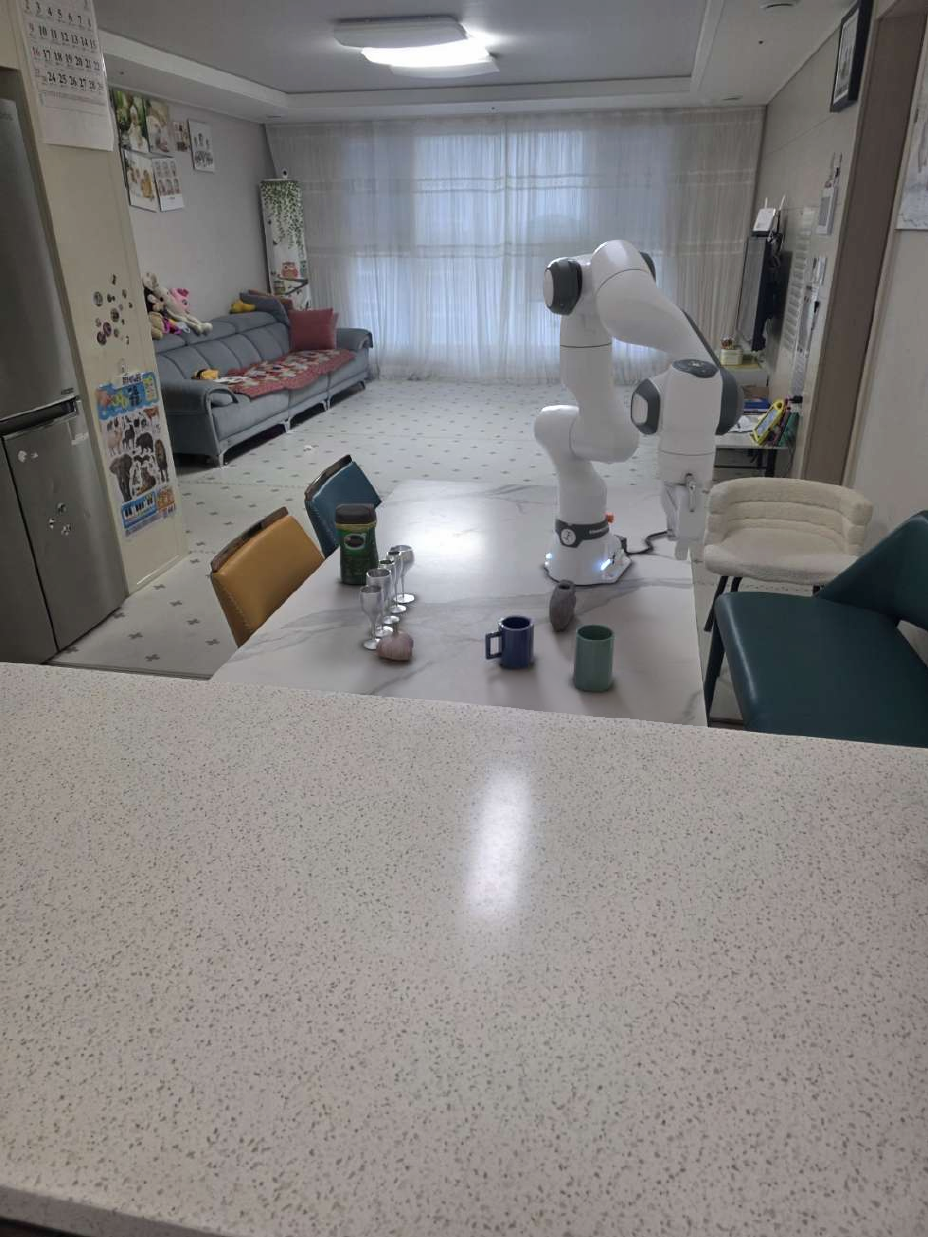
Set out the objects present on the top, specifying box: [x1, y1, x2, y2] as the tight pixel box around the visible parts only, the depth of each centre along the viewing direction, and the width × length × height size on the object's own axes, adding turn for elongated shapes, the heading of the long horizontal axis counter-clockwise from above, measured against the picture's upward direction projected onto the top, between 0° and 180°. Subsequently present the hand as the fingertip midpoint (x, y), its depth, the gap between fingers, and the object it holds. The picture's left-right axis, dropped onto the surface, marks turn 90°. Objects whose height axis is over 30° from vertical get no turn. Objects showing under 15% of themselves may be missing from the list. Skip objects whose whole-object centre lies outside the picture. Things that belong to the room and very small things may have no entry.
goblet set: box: [358, 544, 416, 650], centre depth 172 cm, size 28×6×13 cm, turn 169°
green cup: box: [572, 623, 616, 693], centre depth 147 cm, size 7×7×10 cm
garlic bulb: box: [375, 620, 414, 661], centre depth 158 cm, size 8×7×8 cm
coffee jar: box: [334, 502, 380, 585], centre depth 192 cm, size 10×8×19 cm
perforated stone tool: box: [548, 579, 578, 631], centre depth 171 cm, size 15×5×7 cm, turn 164°
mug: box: [484, 614, 535, 670], centre depth 155 cm, size 10×7×8 cm
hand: (676, 549), depth 137 cm, fingers open, 8 cm apart
